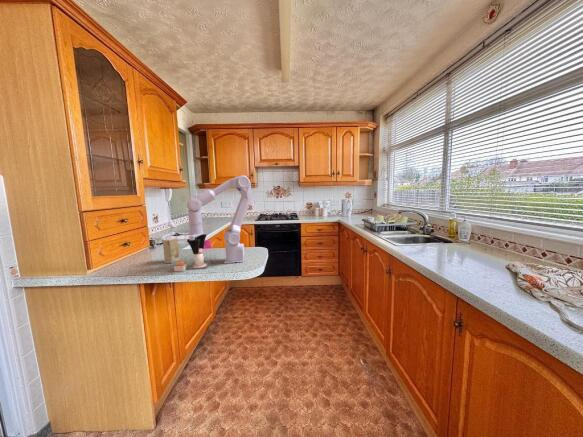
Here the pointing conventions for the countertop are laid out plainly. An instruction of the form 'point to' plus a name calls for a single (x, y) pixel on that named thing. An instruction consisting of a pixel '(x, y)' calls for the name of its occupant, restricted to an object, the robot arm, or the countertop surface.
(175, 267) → the button housing
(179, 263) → the button
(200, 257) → the rose marker
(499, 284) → the countertop surface
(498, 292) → the countertop surface
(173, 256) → the skincare box
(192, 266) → the picture board
